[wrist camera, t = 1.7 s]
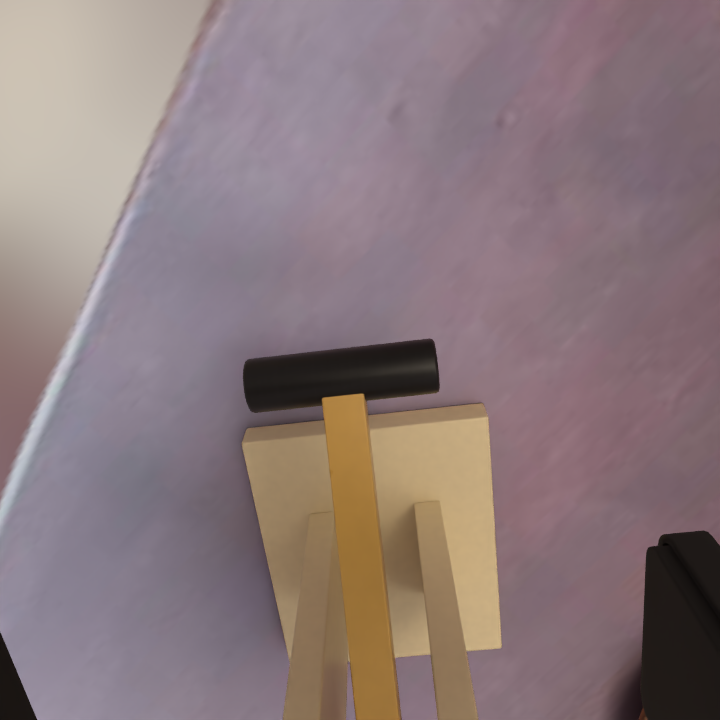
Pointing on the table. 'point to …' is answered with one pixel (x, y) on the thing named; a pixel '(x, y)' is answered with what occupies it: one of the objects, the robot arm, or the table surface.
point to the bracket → (400, 549)
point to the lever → (353, 483)
